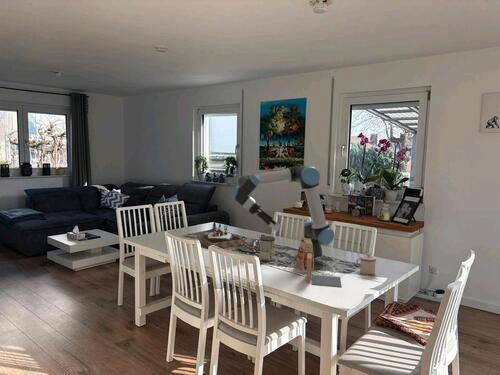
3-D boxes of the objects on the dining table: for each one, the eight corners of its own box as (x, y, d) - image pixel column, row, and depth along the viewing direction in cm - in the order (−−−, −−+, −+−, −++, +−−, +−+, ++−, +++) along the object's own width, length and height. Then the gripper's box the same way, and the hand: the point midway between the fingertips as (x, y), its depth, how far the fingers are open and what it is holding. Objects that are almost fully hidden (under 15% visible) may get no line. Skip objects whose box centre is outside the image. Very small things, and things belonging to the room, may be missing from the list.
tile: (305, 282, 208) (306, 258, 207) (306, 276, 218) (307, 253, 217) (310, 283, 208) (311, 258, 206) (311, 277, 218) (312, 253, 216)
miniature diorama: (205, 245, 281) (205, 223, 280) (208, 239, 301) (208, 218, 299) (231, 246, 281) (232, 224, 279) (233, 239, 301) (233, 219, 299)
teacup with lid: (377, 272, 228) (378, 253, 227) (371, 276, 222) (372, 256, 220) (359, 267, 236) (360, 249, 235) (352, 271, 230) (353, 252, 228)
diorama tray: (228, 236, 310) (228, 232, 310) (245, 244, 286) (245, 239, 286) (196, 240, 296) (196, 235, 295) (211, 249, 272) (211, 243, 271)
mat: (311, 284, 205) (311, 284, 205) (312, 275, 220) (312, 274, 220) (341, 287, 203) (341, 286, 202) (340, 277, 217) (340, 277, 217)
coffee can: (259, 255, 258) (260, 235, 256) (274, 256, 257) (275, 236, 255) (258, 260, 248) (259, 239, 246) (274, 261, 247) (275, 240, 245)
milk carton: (303, 271, 227) (304, 239, 225) (294, 267, 235) (295, 235, 233) (315, 269, 231) (316, 237, 229) (306, 265, 239) (307, 234, 237)
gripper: (248, 214, 239) (273, 235, 236) (247, 207, 215) (276, 231, 211) (256, 205, 240) (281, 226, 237) (256, 197, 216) (284, 221, 212)
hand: (279, 229), depth 224 cm, fingers open, 13 cm apart
